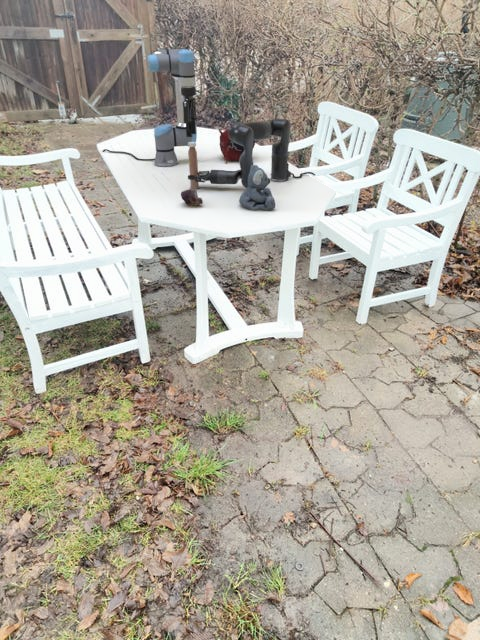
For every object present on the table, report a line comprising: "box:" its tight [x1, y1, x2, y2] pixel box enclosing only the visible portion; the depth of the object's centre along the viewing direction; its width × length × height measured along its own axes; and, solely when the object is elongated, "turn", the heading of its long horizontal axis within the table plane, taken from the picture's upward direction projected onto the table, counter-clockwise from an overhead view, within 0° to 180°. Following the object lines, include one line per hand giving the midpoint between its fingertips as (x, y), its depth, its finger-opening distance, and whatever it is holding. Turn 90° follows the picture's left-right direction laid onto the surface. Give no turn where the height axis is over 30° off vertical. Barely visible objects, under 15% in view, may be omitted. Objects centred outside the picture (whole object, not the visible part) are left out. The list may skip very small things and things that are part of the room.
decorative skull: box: [218, 128, 256, 164], centre depth 298 cm, size 21×24×25 cm
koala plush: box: [238, 164, 276, 211], centre depth 224 cm, size 17×18×20 cm
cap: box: [187, 141, 197, 148], centre depth 240 cm, size 4×4×2 cm
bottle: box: [187, 146, 200, 190], centre depth 247 cm, size 5×5×24 cm
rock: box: [180, 188, 204, 207], centre depth 229 cm, size 12×9×10 cm
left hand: (191, 135), depth 238 cm, fingers open, 6 cm apart
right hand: (189, 175), depth 250 cm, fingers closed on bottle, 4 cm apart
